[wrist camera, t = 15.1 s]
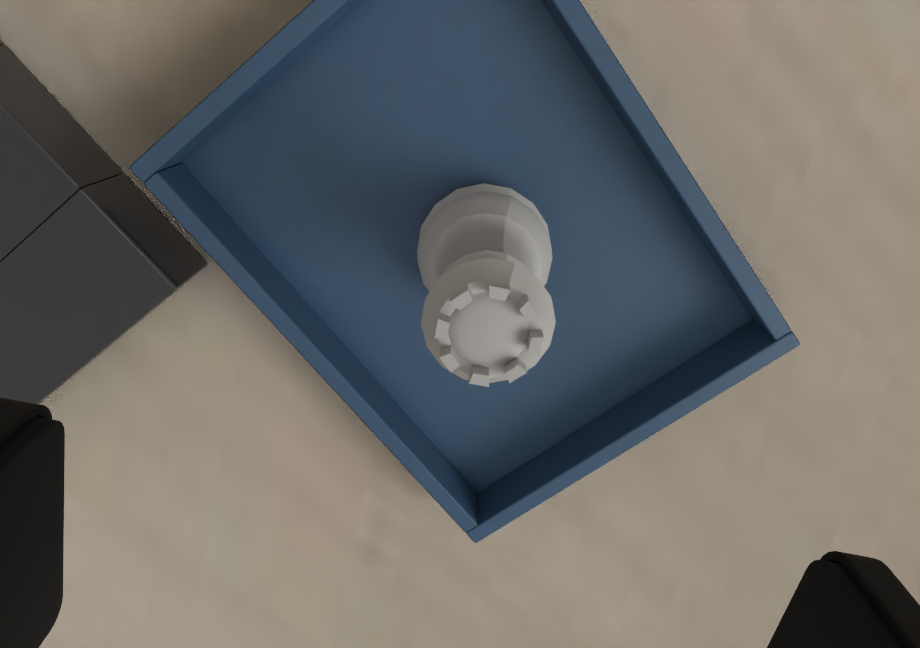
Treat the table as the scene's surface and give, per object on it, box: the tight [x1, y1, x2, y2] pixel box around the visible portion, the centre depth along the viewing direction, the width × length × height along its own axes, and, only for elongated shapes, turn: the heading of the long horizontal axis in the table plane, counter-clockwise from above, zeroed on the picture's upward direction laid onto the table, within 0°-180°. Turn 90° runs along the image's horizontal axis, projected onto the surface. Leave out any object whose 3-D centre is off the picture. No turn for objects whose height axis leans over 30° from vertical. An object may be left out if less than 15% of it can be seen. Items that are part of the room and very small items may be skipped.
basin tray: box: [129, 0, 800, 543], centre depth 23 cm, size 17×13×2 cm
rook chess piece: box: [417, 183, 556, 387], centre depth 20 cm, size 4×4×8 cm
